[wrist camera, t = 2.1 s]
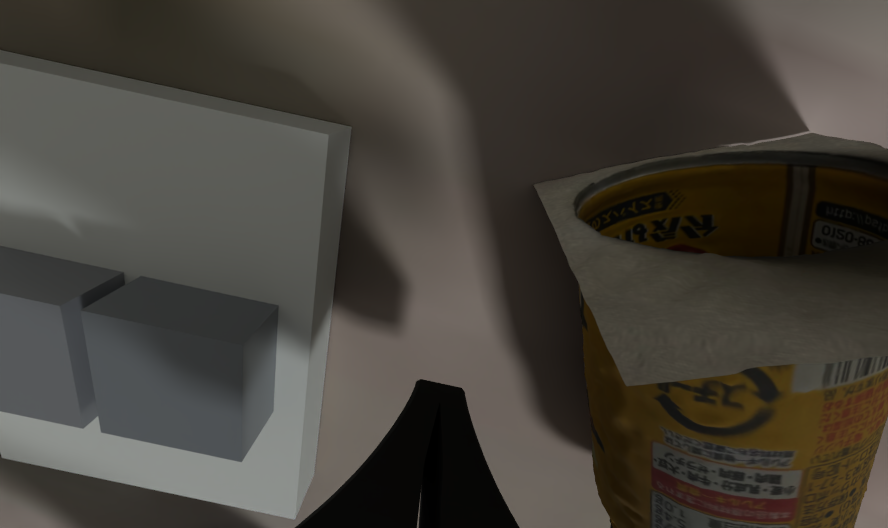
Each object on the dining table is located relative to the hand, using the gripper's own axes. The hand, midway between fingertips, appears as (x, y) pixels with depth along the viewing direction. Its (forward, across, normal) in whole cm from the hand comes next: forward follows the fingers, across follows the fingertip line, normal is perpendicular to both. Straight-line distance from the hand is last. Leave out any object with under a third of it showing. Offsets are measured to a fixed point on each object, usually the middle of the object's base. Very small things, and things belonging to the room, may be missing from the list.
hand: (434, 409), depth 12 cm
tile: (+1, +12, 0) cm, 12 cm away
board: (+3, +10, 0) cm, 10 cm away
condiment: (-2, -5, -8) cm, 10 cm away
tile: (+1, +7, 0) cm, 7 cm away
